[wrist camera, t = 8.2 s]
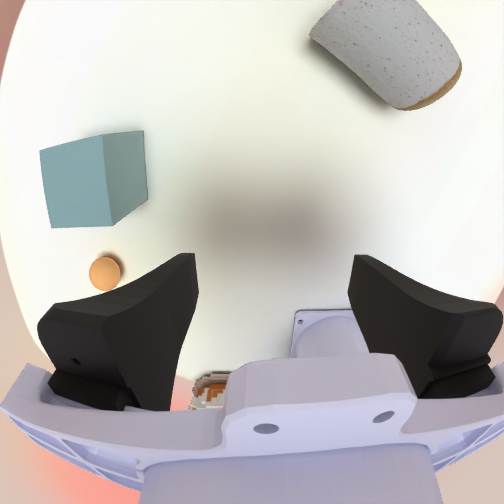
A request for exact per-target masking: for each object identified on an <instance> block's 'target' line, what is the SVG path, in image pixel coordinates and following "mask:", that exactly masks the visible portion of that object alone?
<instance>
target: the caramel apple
mask: <svg viewBox="0 0 504 504" xmlns="http://www.w3.org/2000/svg"><path fill="white" fill-rule="evenodd" d="M229 376H230V374H211V375H210V377H202V379H199V380H198V382H195V385H194V386H195V387H193V389H192V391H193V394H194V395H195V397H192V400H191V404H190V405H189V408H188V410H197V409H209V408H218V407H223V403H224V395H225V387H226V384H227V381H228V378H229Z"/></svg>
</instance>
